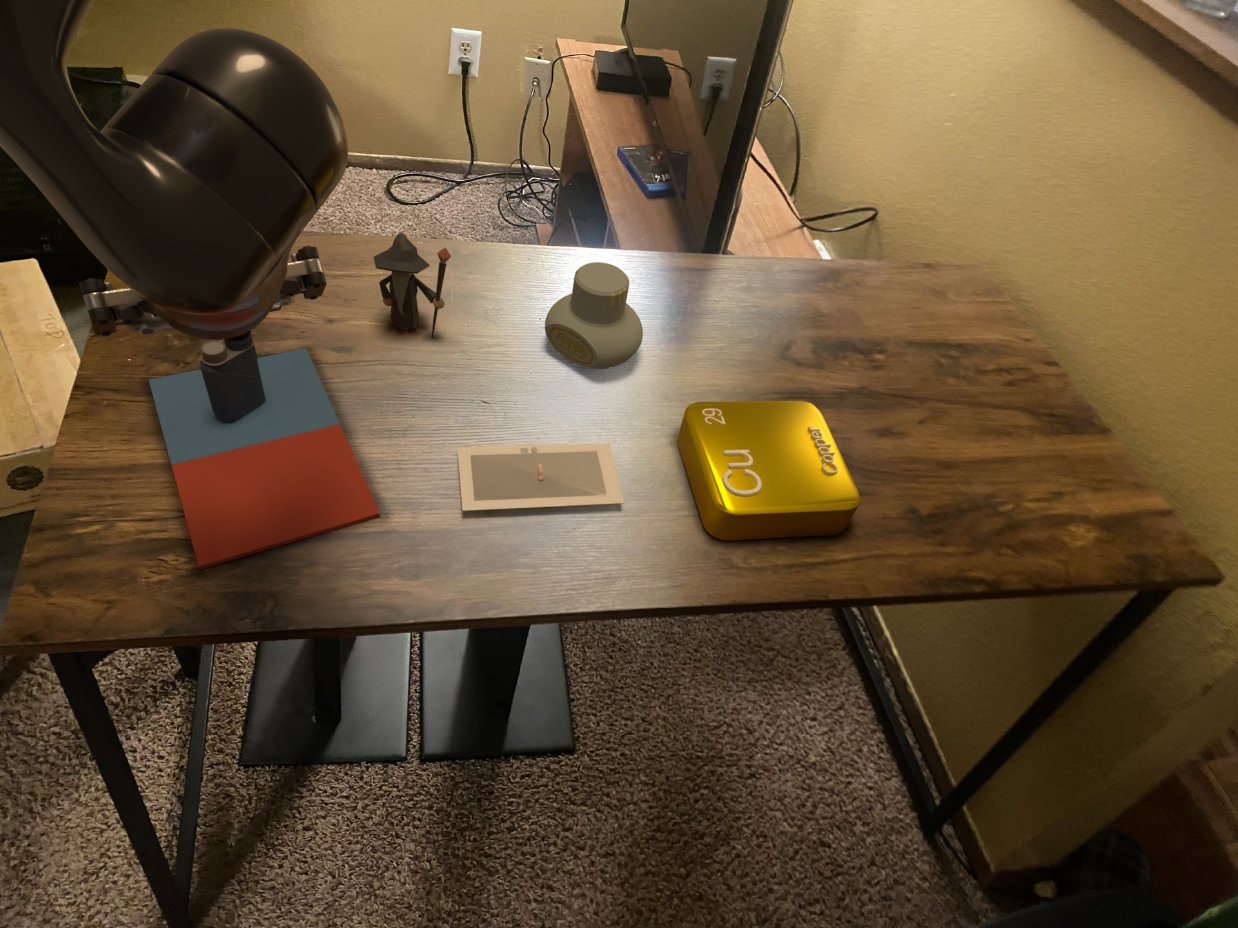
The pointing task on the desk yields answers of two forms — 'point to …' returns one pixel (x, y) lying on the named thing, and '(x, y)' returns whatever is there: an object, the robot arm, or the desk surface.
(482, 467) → the touchpad
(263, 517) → the sorting mat
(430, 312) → the desk surface
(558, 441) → the desk surface
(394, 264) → the wizard figurine
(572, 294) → the air freshener
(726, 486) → the element tile
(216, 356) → the vaping device
